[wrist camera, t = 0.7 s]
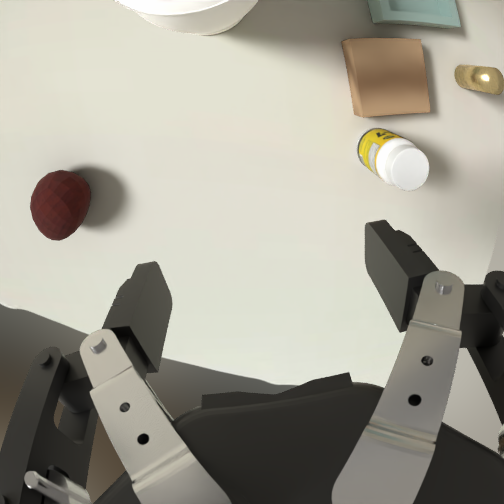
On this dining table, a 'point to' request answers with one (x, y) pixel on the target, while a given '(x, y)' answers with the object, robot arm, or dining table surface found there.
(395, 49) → the brown wooden square block
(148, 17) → the jar
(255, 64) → the dining table surface
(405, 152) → the supplement bottle
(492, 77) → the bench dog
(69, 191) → the potato
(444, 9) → the tray
